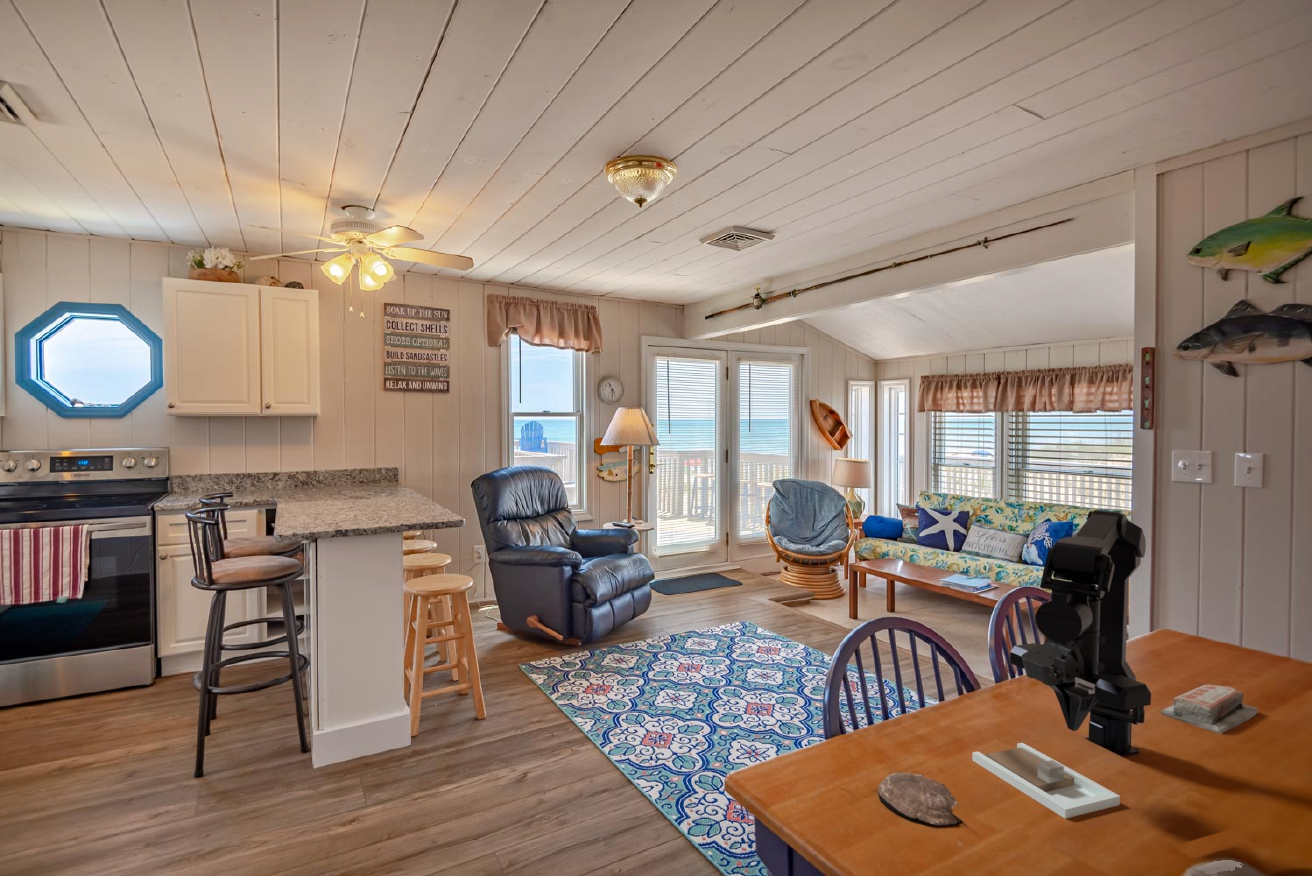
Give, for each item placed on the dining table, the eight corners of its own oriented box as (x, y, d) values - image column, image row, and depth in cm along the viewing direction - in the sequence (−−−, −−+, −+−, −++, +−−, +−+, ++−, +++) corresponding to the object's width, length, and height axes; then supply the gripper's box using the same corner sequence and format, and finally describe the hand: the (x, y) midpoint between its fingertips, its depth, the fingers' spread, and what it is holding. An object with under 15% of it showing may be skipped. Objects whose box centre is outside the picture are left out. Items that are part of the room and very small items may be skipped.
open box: (1021, 758, 114) (1022, 742, 114) (1119, 814, 98) (1120, 796, 98) (972, 769, 111) (972, 752, 111) (1064, 828, 95) (1065, 809, 94)
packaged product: (1223, 711, 124) (1161, 692, 132) (1222, 737, 124) (1160, 716, 133) (1259, 692, 133) (1199, 675, 142) (1258, 716, 133) (1198, 697, 142)
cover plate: (1019, 754, 113) (1020, 734, 113) (1074, 785, 103) (1074, 763, 103) (984, 761, 110) (985, 741, 110) (1037, 793, 101) (1038, 771, 101)
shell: (921, 838, 93) (921, 813, 93) (861, 790, 104) (861, 768, 104) (982, 820, 97) (982, 796, 97) (918, 776, 109) (918, 755, 109)
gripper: (984, 613, 105) (981, 710, 105) (1097, 653, 87) (1093, 769, 88) (1037, 608, 109) (1034, 701, 109) (1155, 645, 91) (1151, 756, 92)
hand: (1072, 729), depth 99 cm, fingers closed
